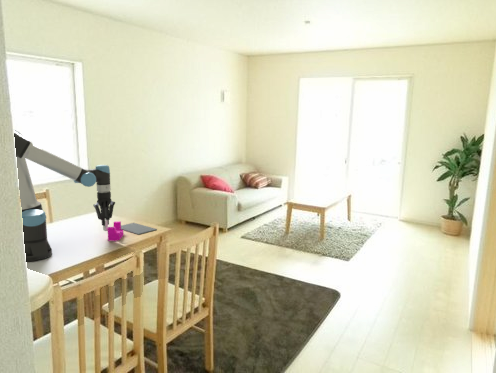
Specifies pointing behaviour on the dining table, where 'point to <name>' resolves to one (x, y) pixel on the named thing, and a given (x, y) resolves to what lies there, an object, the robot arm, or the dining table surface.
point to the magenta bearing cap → (115, 232)
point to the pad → (136, 228)
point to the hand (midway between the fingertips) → (105, 230)
